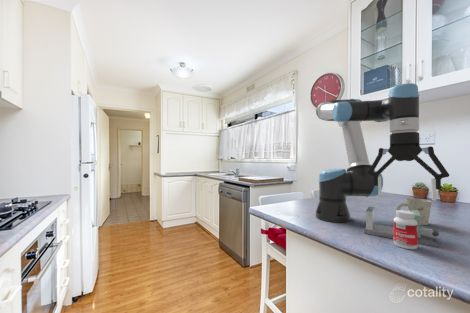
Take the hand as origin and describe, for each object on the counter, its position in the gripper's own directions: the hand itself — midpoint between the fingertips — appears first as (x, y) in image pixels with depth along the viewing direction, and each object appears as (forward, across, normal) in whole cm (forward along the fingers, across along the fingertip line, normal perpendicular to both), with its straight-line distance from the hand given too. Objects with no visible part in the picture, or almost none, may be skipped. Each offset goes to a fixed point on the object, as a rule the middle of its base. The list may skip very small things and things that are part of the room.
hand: (405, 197), depth 68 cm
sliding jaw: (+14, +5, +10) cm, 18 cm away
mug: (+16, +3, +33) cm, 37 cm away
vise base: (+16, -2, +10) cm, 19 cm away
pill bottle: (+16, 0, 0) cm, 16 cm away
